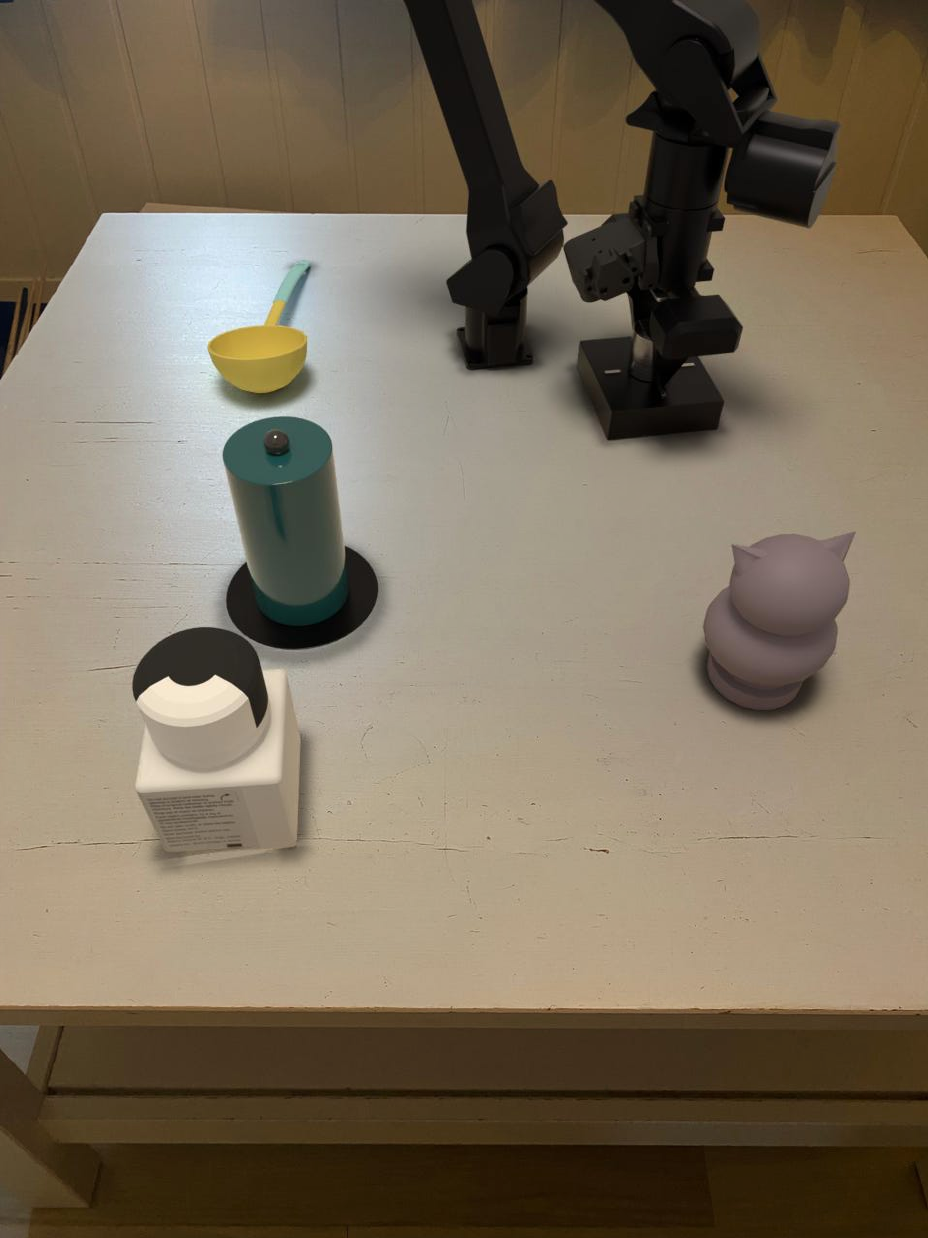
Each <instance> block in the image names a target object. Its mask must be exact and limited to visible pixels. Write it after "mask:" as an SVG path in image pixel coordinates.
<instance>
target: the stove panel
mask: <svg viewBox="0 0 928 1238" xmlns="http://www.w3.org/2000/svg"><path fill="white" fill-rule="evenodd" d="M631 339H632V335H628V336H617V337H605V338H595V339H594V338H593V339H583V340H579V341H578V342H579V343H578V353H577V361H576V370H577V373H578V375H579V377H580V380H581V382H582V384H583V386H584V390H585V391H586V393H587V396H588V398H589V400H590V403H591V405H592V407H593V411H594V412H595V414H596V417H597V419H598V421H599V424H600V426H601V428H602V430H603V433H604V435H605V437H606V439H607V441H614V440H624V439H633V438H643V437H653V436H663V435H670V434H671V435H673V434H681V433H682V434H683V433H692V432H693V433H694V432H701V431H712V430H718V428H719V424H720V419H721V416H722V412H723V408H724V404H725V399H724V398H723V396H722V394H721V393H720V391H719V389H718V387H717V385H716V384H715V382H714V380H713V379H712V377H711V374H709V372H708V371H707V368H706V367H705V365H704V364H703V361H702V360H701V358H700V356H697V357H689V358H688V359H687V360H686V362H685V363H684V364H683V365H682V366H681V367H680V369H679V370H678V371H677V372H676V373H675V375H674V376H673V377H672V378H671V379H670V380H669V382H668V383H667V384H666V385H665V386H657V387H654V386H653V384H652V382H647V381H642V380H639V379H637V378H635V377H633V376H632V375H631V374H630V373H629V371H628V369H627V364H628V358H629V351H630V345H631Z"/></svg>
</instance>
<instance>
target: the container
mask: <svg viewBox="0 0 928 1238" xmlns="http://www.w3.org/2000/svg"><path fill="white" fill-rule="evenodd" d="M131 683H132V687H131V690H132V695H133V698H134V700H135V703H136V706H137V708H138V710H139V713H140V715H141V717H142V721H143V722H144V724H145V725H144V731H143V736H142V742H141V748H140V754H139V761H138V767H137V773H136V777H135V778H136V779H135V783H134V784H135V785H134V788H135V792H136V794H137V796H138V798H139V800H140V803H141V804H142V806H143V809H144V810H145V812H146V814H147V817H148V819H149V821H150V823H151V825H152V827H153V829H154V831H155V833H156V835H157V837H158V840H159V842H160V844H161V845H162V848H163V850H164V851H165V852H167V853H179V852H190V851H191V852H192V851H203V850H204V851H206V850H218V849H219V850H220V849H226V850H221V851H219V853H226V852H227V853H228V852H241V851H254V850H257V851H258V850H270V849H285V848H292V847H295V846H296V845H297V844H298V839H297V838H298V826H299V825H298V823H299V798H300V797H299V793H300V768H301V766H300V765H301V764H300V763H301V734H300V730H299V724H298V720H297V715H296V711H295V706H294V701H293V696H292V692H291V688H290V683H289V678H288V673H287V672H286V670H284V669H282V668H273V669H270V668H269V669H263V668H262V665H261V660H260V657H259V654H258V652H257V650H256V648H254V646H253V645H252V644H251V642H250V641H249V640H248V639H246V638H245V637H244V636H242V635H241V634H238V633H236V632H234V631H231V630H229V629H226V628H225V629H224V628H220V627H214V626H198V627H197V626H196V627H192V628H186V629H183V630H179V631H177V632H174V633H172V634H170V635H168V636H165V637H164V638H162V639H161V640H159V641H158V642H157V643H155V644H154V645H153V646H152V647H151V648H150V649H149V650H148V651H147V652H146V653H145V654H144V656H143V657H142V658H141V660H140V661H139V662H138V664H137V666H136V668H135V670H134V674H133V676H132V682H131ZM231 848H232V849H231ZM234 848H235V849H234ZM236 848H237V849H236ZM212 853H213V854H214V853H216V851H214V852H212Z"/></svg>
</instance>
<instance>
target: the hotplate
mask: <svg viewBox="0 0 928 1238" xmlns="http://www.w3.org/2000/svg"><path fill="white" fill-rule="evenodd" d="M345 554H346V562H347V570H348V579H349V595H348V598H347V600H346V602H345V604H344V605H343V606H342V608H341V609H340V610H339V611H338V612H336V613H335V614H334V615H333V616H331V617H329V618H328V619H326V620H324V621H321V622H319V623H315V624H312V625H306V626H290V625H284V624H280V623H278V622H275V621H273V620H271V619H269V618H268V617H267V616H265V615H264V614H263V613H262V612H261V610H260V609H259V607H258V605H257V603H256V600H255V595H254V591H253V587H252V582H251V578H250V574H249V570H248V565H247V561H245V562H244V563H243V564H241V566H239V568H238V569H237V570H236V572H235V573H234V575H233V576H232V577H231V579H230V581H229V584H228V587H227V591H226V599H225V604H226V611H227V613H228V617H229V618H230V621H231V622H232V624H233V625H234V626H235V627H236V629H238V631H240V632H241V634H242V635H243V636H246V637H247V638H248V639H250V640H251V641H253V642H255V643H258V644H260V645H263V646H265V647H269V648H274V649H278V650H286V651H303V650H310V649H311V650H312V649H317V648H320V647H324V646H327V645H330V644H333V643H335V642H338V641H340V640H341V639H344V638H345V637H347V636H349V635H350V634H352V633H353V632H355V631H356V630H357V629H358V628H359V627H361V626H362V625H363V624H364V623H365V621H367V619H368V618H369V617H370V615H371V614H372V612H373V610H374V609H375V606H376V604H377V600H378V597H379V582H378V577H377V574H376V573H375V570H374V568H373V566H372V565H371V564H370V562H369V561H368V560H367V559H366V558H365V557H364V556H363V555H362V554H360V553H359V552H358V551H356V550H355V549H353V548H351V547H349V546H346V545H345Z"/></svg>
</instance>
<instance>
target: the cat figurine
mask: <svg viewBox="0 0 928 1238" xmlns="http://www.w3.org/2000/svg"><path fill="white" fill-rule="evenodd" d="M856 533H857V531H853V532H851V531H850V532H848V533H844V534H840V535H836V536H833V537H829V538H825V539H821V540H819V539H817V538H814V537H812V536H808V535H804V534H798V533H781V534H776V535H771V536H767V537H764V538H763V539H760V540H759V541H756V542H755V543H752V544H751V545H749V546H746V545H740V544H734V543H733V544H732V543H731V544H730V545H731V550H732V556H733V561H734V564H733V566H732V570H731V573H730V576H729V581H728V586H726V587H724V588H723V589H722V590H721V591H720V592H719V593H718V594H717V595H716V596H715V597H714V599H712V600H711V602H710V603H709V605H708V607H707V608H706V612H705V616H704V620H703V623H702V630H703V635H704V640H705V644H706V645H705V646H706V648H707V649H708V651H709V655H708V659H707V663H706V670H707V674H708V678H709V680H710V682H711V684H712V686H713V687H714V688H715V690H716V691H718V693H720V695H722V696H723V697H724V698H725V699H726V700H728V701H730V702H732V703H734V704H736V705H738V706H739V707H743V708H747V709H750V710H753V711H772V710H776V709H779V708H782V707H785V706H786V705H788V704H789V703H791V702H792V701H794V699H795V698H796V696H797V694H799V691H800V689H801V687H802V685H803V683H804V681H805V680H806V679H808V678H810V677H811V676H813V675H815V674H816V673H818V672H819V671H820V670H821V669H823V668H824V667H825V666H826V664H827V662H828V661H829V660H830V658H831V657H832V655H833V654H834V653H835V650H836V647H837V640H838V633H839V628H838V624H837V622H836V618H837V617H838V616H839V615H840V613H841V611H843V609H844V608H845V606H846V604H847V602H848V599H849V592H850V584H851V582H850V581H851V580H850V576H849V573H848V571H847V567H846V564H845V563H844V562H845V560H846V557H847V555H848V552H849V549H850V547H851V545H852V542H853V541H854V538H855V535H856Z"/></svg>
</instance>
